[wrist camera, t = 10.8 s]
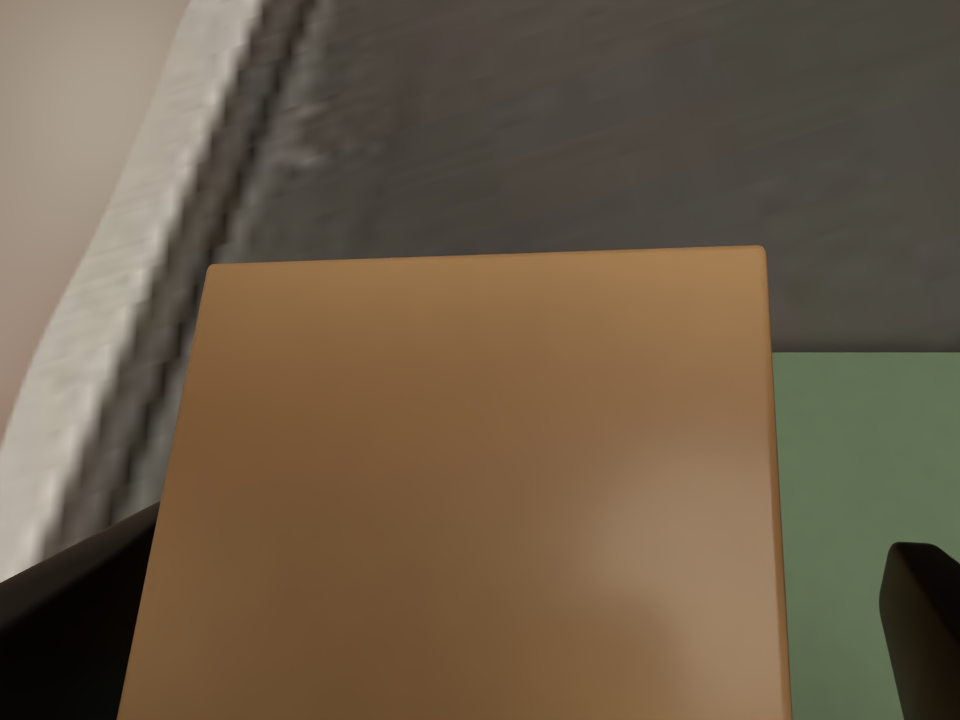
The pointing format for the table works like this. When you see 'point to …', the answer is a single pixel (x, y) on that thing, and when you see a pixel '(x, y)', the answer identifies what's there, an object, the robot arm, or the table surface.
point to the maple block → (472, 494)
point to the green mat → (858, 509)
